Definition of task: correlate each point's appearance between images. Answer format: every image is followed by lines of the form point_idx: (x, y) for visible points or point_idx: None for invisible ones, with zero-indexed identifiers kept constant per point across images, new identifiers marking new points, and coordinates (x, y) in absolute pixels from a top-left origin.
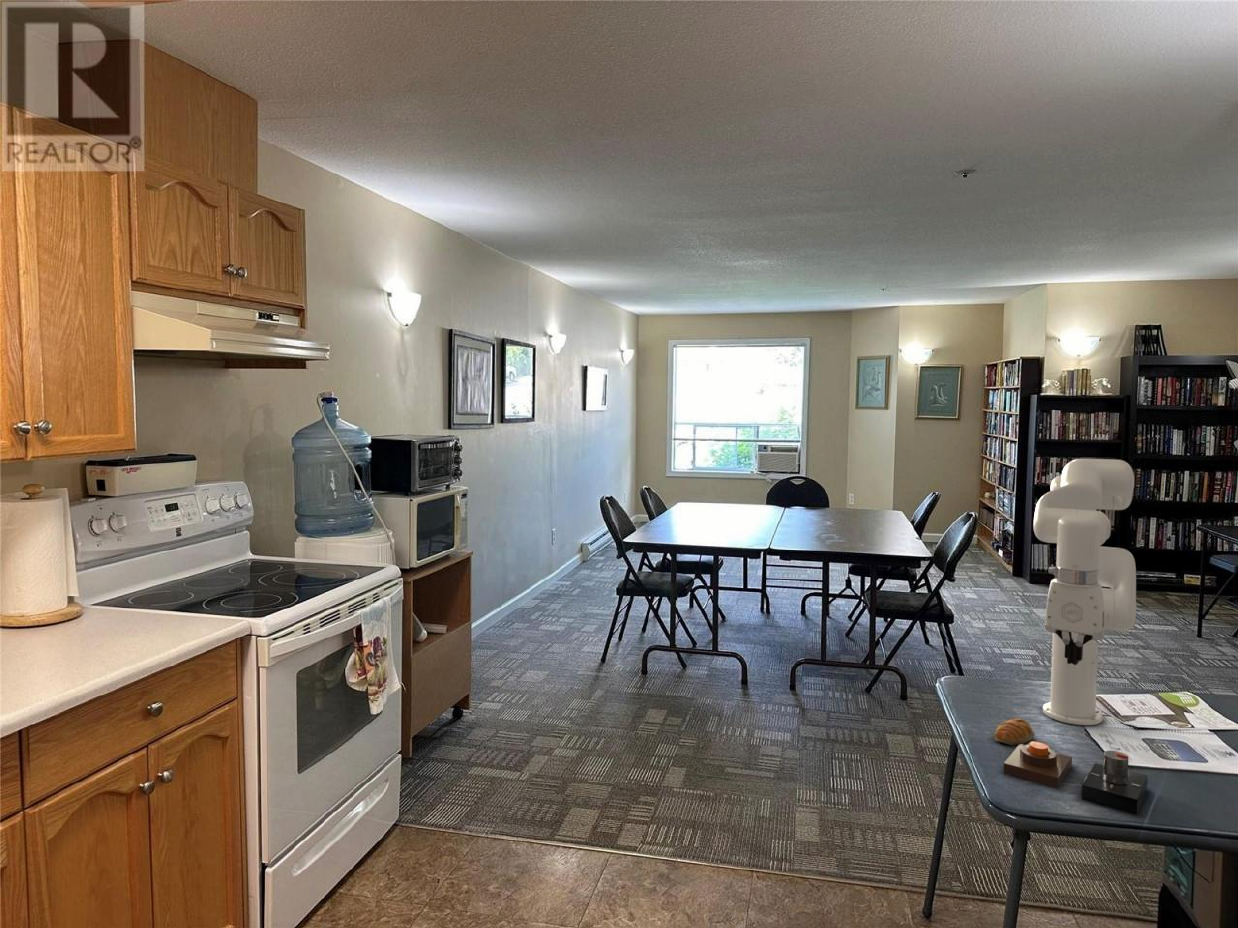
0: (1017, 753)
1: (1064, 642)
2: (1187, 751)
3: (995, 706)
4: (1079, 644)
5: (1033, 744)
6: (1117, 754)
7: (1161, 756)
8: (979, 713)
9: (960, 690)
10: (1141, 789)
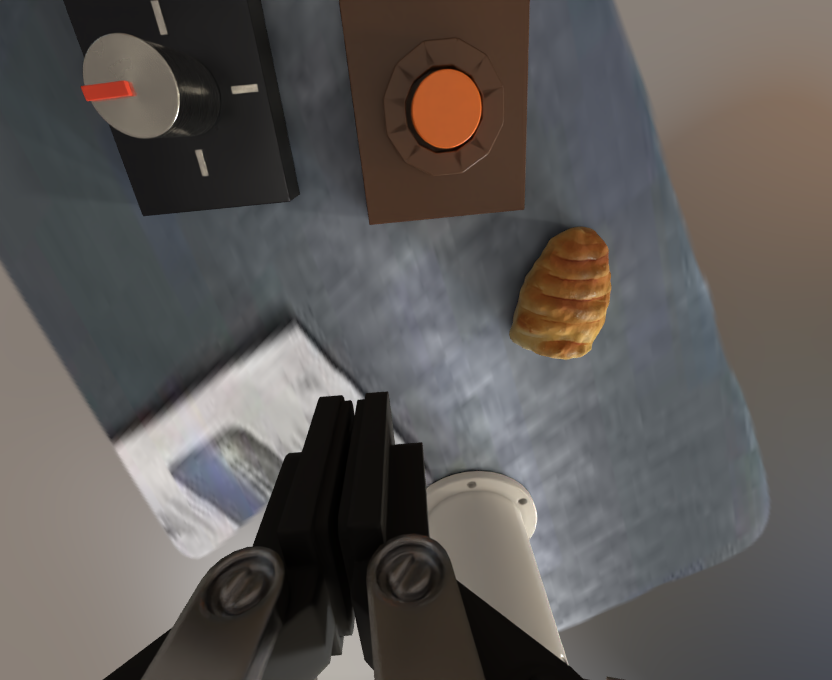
0: (511, 114)
1: (431, 556)
2: (221, 493)
3: (636, 459)
4: (238, 578)
5: (464, 100)
6: (121, 81)
7: (244, 436)
8: (667, 395)
9: (729, 492)
10: None
